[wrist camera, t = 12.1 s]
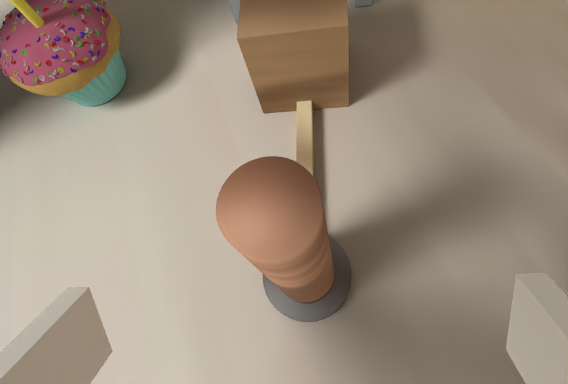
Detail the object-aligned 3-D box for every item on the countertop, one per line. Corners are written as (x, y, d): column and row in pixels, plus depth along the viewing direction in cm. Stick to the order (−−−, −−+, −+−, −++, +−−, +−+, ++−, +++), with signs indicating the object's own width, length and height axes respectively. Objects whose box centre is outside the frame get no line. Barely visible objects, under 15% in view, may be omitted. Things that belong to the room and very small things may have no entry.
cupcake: (165, 83, 29) (57, -76, 18) (73, 148, 28) (-100, 19, 17) (119, 27, 33) (4, -135, 22) (35, 83, 32) (-129, -58, 21)
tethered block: (363, 322, 20) (377, 287, 10) (254, 321, 21) (161, 290, 11) (344, 40, 28) (341, -147, 18) (266, 48, 29) (219, -124, 19)
